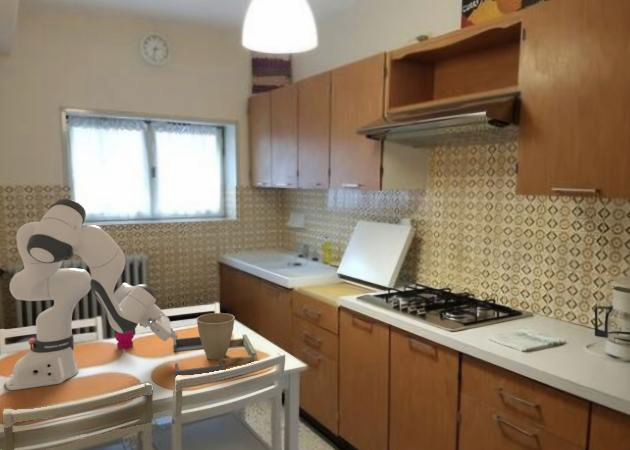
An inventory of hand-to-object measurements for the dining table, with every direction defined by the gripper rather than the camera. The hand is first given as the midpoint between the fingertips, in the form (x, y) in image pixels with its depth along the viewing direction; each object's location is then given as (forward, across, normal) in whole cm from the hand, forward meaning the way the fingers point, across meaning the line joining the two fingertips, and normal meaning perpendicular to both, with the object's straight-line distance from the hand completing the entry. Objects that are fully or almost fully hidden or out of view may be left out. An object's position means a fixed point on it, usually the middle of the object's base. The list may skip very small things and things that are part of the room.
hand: (176, 337), depth 181 cm
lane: (+22, -2, -10) cm, 24 cm away
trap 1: (+12, +13, +1) cm, 18 cm away
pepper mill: (-8, +23, +21) cm, 32 cm away
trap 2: (+11, -16, +1) cm, 20 cm away
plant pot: (+17, -2, -4) cm, 18 cm away
